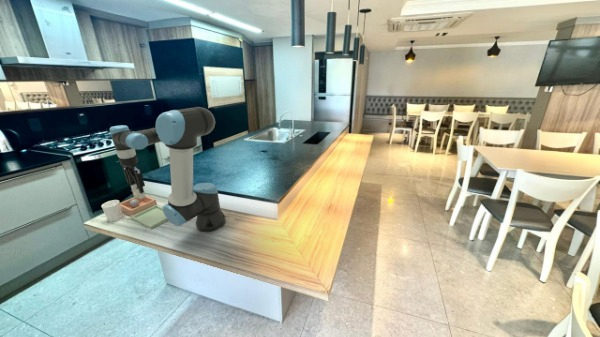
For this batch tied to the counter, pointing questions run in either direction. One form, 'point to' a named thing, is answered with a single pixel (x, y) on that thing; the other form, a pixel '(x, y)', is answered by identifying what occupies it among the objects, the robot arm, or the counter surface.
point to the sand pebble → (136, 194)
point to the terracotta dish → (142, 206)
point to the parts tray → (150, 217)
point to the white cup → (112, 210)
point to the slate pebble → (134, 203)
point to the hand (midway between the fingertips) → (139, 196)
